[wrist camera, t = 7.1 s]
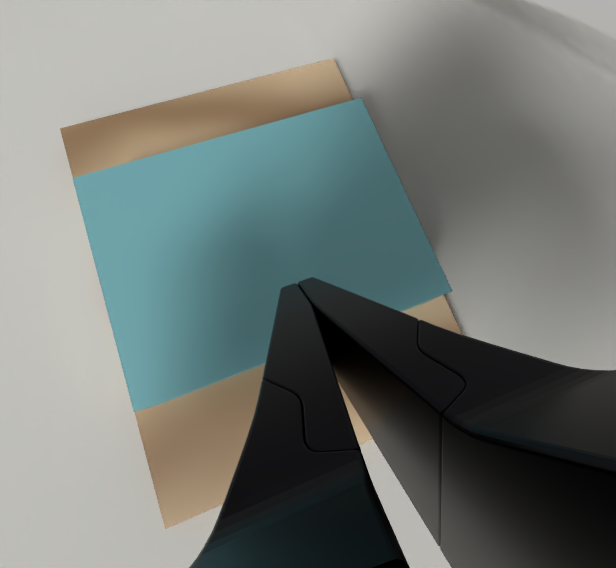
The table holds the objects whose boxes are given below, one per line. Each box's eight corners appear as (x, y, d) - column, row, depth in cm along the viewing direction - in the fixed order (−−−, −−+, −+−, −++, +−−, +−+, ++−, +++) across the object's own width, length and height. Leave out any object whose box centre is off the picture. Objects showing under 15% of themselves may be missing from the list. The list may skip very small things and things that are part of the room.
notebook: (452, 290, 13) (360, 95, 15) (130, 413, 11) (69, 176, 13) (425, 302, 16) (349, 134, 18) (158, 405, 14) (103, 207, 16)
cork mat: (477, 387, 16) (487, 388, 15) (171, 519, 14) (165, 529, 13) (331, 70, 19) (333, 58, 19) (70, 139, 17) (60, 128, 16)
